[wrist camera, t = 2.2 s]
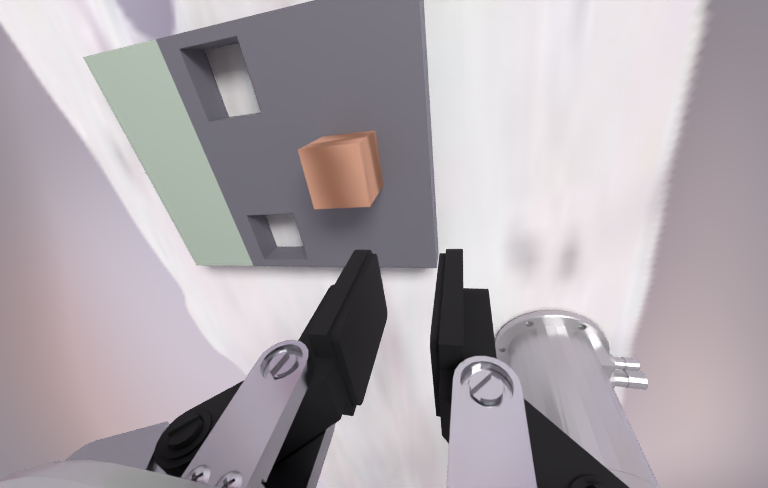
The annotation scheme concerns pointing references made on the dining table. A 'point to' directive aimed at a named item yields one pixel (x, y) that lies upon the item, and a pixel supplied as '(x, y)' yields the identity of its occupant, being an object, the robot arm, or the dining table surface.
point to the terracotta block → (342, 170)
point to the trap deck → (285, 131)
